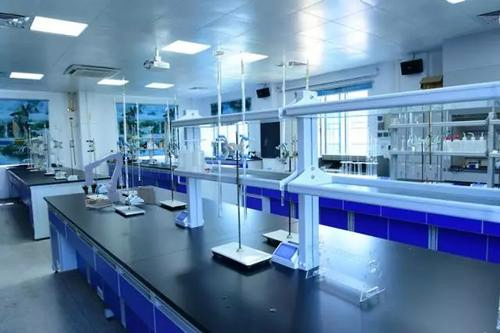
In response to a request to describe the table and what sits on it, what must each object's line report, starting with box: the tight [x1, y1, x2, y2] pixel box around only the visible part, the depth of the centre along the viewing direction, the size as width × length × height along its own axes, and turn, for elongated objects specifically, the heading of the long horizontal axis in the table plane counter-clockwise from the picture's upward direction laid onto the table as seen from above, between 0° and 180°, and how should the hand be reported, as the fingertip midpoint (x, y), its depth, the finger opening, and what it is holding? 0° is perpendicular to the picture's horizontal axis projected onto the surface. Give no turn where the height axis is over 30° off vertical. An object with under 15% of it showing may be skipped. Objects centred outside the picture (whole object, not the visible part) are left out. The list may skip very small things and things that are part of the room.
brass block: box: [95, 197, 105, 202], centre depth 287 cm, size 4×5×5 cm
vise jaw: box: [84, 198, 96, 204], centre depth 293 cm, size 12×9×3 cm
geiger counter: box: [134, 185, 157, 205], centre depth 298 cm, size 14×6×25 cm
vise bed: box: [85, 199, 114, 209], centre depth 288 cm, size 14×16×5 cm
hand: (90, 193), depth 294 cm, fingers open, 7 cm apart
